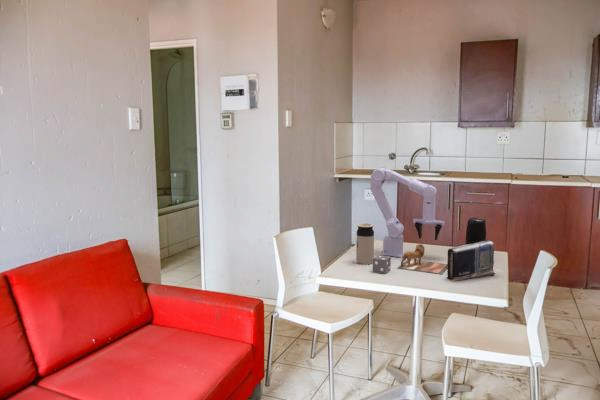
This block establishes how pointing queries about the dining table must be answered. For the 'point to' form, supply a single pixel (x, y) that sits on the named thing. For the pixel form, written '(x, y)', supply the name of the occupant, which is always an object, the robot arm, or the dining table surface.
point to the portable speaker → (475, 230)
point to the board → (425, 267)
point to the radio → (470, 261)
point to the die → (381, 264)
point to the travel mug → (365, 243)
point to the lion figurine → (414, 255)
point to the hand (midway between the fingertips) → (428, 238)
